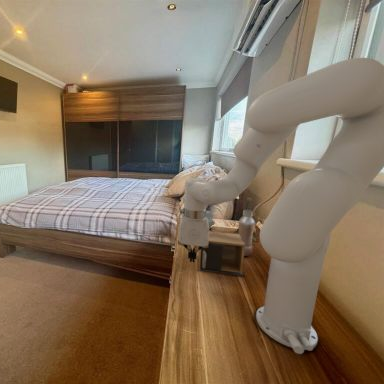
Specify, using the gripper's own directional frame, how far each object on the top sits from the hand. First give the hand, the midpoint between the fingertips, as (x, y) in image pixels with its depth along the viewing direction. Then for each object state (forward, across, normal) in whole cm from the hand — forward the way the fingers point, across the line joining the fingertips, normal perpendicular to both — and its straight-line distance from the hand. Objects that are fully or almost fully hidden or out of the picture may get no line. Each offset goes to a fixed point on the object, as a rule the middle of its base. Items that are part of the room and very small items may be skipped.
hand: (192, 260), depth 75 cm
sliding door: (+4, +7, +2) cm, 8 cm away
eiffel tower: (+6, +29, +43) cm, 52 cm away
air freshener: (+6, +9, +51) cm, 52 cm away
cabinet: (+5, +11, +9) cm, 15 cm away
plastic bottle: (+6, +23, +21) cm, 32 cm away
